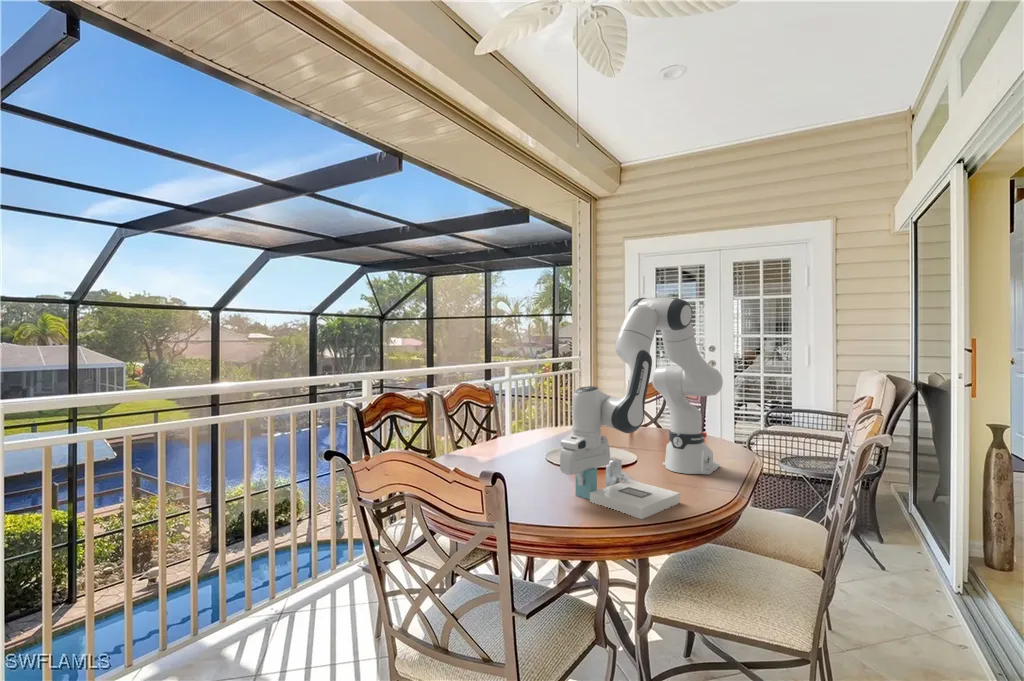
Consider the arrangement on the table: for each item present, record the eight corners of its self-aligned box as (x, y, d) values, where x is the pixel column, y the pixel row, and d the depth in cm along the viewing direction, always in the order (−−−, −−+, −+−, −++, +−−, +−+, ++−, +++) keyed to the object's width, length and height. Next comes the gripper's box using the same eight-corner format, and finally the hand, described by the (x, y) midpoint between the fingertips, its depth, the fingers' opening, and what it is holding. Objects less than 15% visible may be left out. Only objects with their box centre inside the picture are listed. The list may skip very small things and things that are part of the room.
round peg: (612, 484, 162) (612, 457, 162) (624, 488, 158) (624, 460, 158) (602, 487, 158) (602, 460, 158) (615, 491, 155) (615, 463, 155)
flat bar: (581, 493, 152) (581, 465, 152) (596, 498, 148) (596, 469, 148) (575, 495, 150) (575, 466, 150) (590, 500, 146) (590, 470, 146)
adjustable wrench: (659, 496, 151) (659, 491, 151) (641, 498, 150) (641, 492, 150) (621, 474, 176) (621, 469, 176) (605, 475, 174) (605, 470, 174)
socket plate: (629, 488, 157) (629, 479, 157) (679, 502, 144) (679, 492, 144) (589, 502, 144) (590, 491, 144) (641, 519, 130) (641, 507, 130)
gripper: (599, 433, 158) (599, 475, 158) (556, 441, 145) (556, 487, 145) (615, 436, 153) (614, 479, 153) (572, 445, 140) (572, 492, 140)
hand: (586, 483), depth 149 cm, fingers closed on flat bar, 3 cm apart
